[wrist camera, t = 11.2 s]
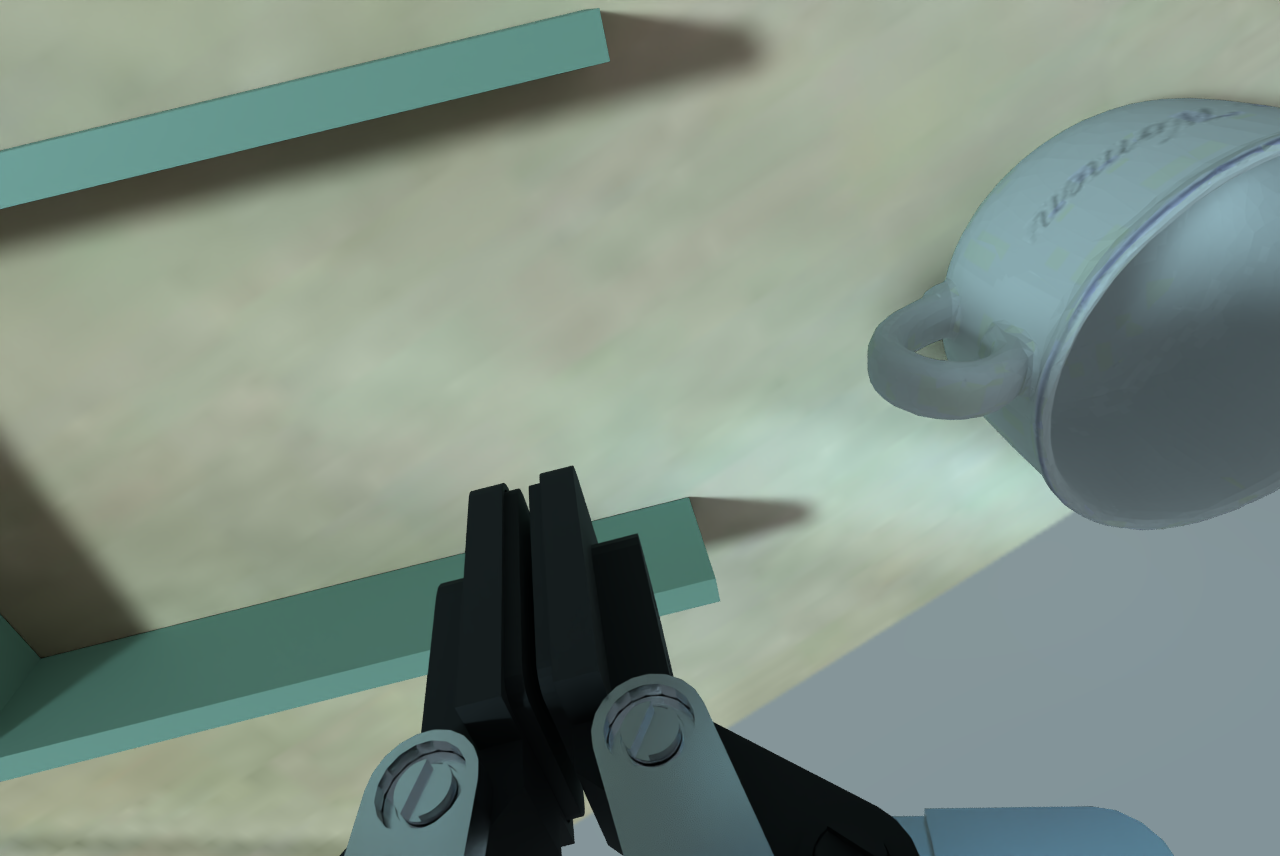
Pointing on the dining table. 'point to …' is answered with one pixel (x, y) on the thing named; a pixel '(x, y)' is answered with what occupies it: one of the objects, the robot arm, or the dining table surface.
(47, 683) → the green u-shaped border
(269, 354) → the dining table surface
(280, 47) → the dining table surface
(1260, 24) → the dining table surface
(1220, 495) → the teacup
